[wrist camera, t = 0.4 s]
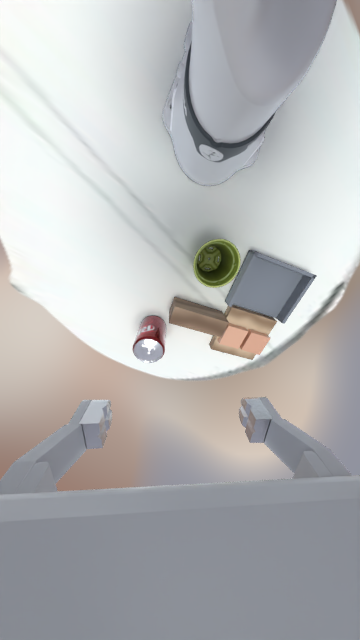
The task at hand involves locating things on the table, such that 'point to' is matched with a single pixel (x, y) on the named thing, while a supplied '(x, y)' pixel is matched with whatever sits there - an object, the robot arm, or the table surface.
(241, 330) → the tile
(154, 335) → the soda can
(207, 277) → the plant pot
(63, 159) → the table surface
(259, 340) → the tile
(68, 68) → the table surface
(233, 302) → the tray
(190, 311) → the bar
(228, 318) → the oak plate
